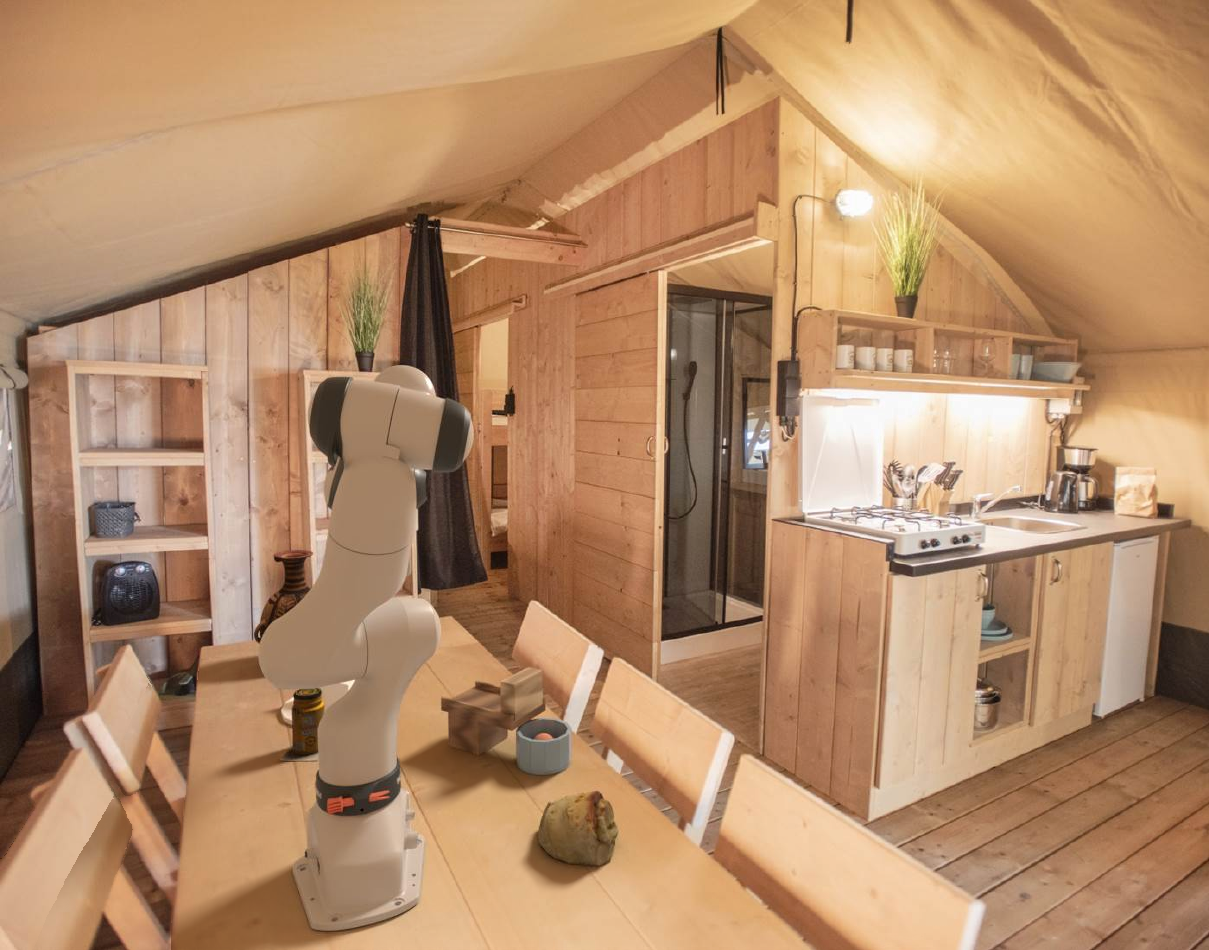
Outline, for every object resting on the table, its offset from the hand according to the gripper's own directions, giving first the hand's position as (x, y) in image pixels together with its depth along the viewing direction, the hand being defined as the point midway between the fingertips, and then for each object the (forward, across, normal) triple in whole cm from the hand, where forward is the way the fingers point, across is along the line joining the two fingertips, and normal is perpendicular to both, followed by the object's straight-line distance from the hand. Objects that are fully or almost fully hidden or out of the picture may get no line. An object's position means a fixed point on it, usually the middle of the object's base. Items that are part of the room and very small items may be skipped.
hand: (397, 589), depth 144 cm
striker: (+22, -17, -22) cm, 35 cm away
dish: (+32, +21, +11) cm, 40 cm away
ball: (+28, -21, -25) cm, 43 cm away
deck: (+31, -12, -17) cm, 37 cm away
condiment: (+31, 0, +18) cm, 36 cm away
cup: (+31, -22, -24) cm, 45 cm away
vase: (+31, +56, +21) cm, 67 cm away
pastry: (+32, -48, -22) cm, 62 cm away
